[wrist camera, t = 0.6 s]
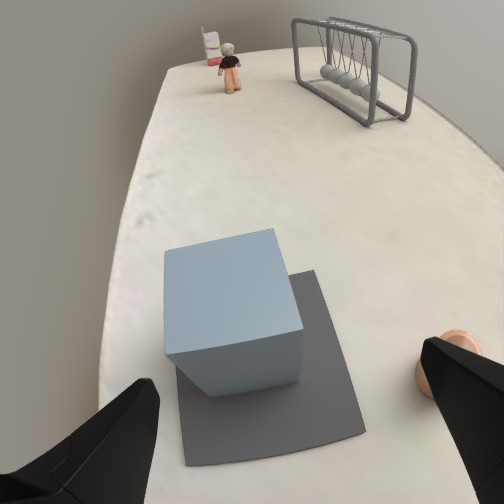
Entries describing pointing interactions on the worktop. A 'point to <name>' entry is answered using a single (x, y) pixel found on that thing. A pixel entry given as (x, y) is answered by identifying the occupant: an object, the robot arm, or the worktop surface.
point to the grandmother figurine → (229, 68)
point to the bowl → (455, 338)
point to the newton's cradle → (348, 80)
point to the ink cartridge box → (212, 48)
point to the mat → (277, 399)
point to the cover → (232, 315)
